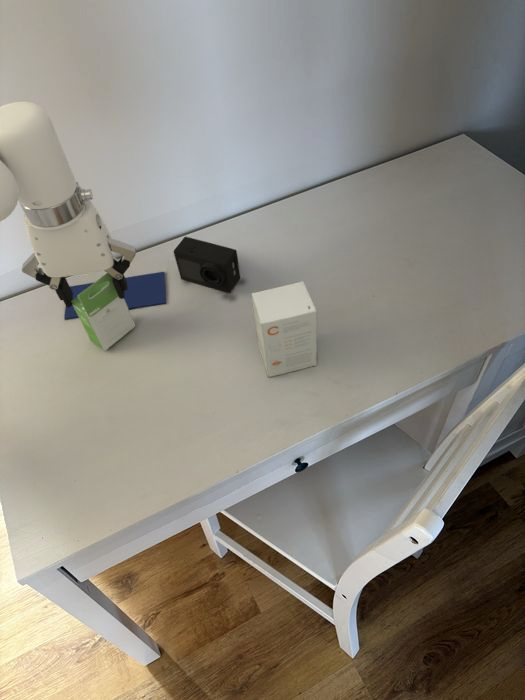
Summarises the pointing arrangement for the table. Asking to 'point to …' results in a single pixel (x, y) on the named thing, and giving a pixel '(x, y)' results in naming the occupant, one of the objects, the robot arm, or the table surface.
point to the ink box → (103, 313)
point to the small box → (285, 328)
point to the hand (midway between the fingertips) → (96, 296)
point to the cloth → (132, 292)
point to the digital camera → (207, 264)
